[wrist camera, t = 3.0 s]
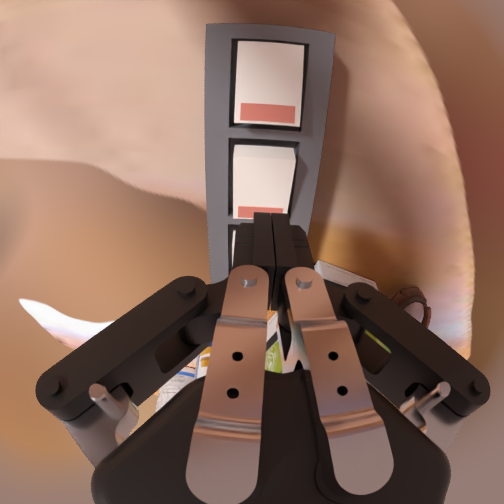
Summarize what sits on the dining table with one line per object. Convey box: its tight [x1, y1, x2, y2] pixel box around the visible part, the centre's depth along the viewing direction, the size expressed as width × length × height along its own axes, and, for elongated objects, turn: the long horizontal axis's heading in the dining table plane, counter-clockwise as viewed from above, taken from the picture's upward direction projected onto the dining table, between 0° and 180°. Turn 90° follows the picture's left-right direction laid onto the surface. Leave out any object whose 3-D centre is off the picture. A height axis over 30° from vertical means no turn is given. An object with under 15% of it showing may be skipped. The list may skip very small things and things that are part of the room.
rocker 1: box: [234, 41, 304, 127], centre depth 17 cm, size 6×4×2 cm
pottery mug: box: [391, 287, 431, 328], centre depth 37 cm, size 12×10×8 cm
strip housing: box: [205, 23, 335, 284], centre depth 24 cm, size 25×9×4 cm, turn 177°
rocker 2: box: [233, 145, 296, 219], centre depth 22 cm, size 6×4×2 cm
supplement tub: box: [155, 367, 196, 413], centre depth 47 cm, size 10×10×15 cm
